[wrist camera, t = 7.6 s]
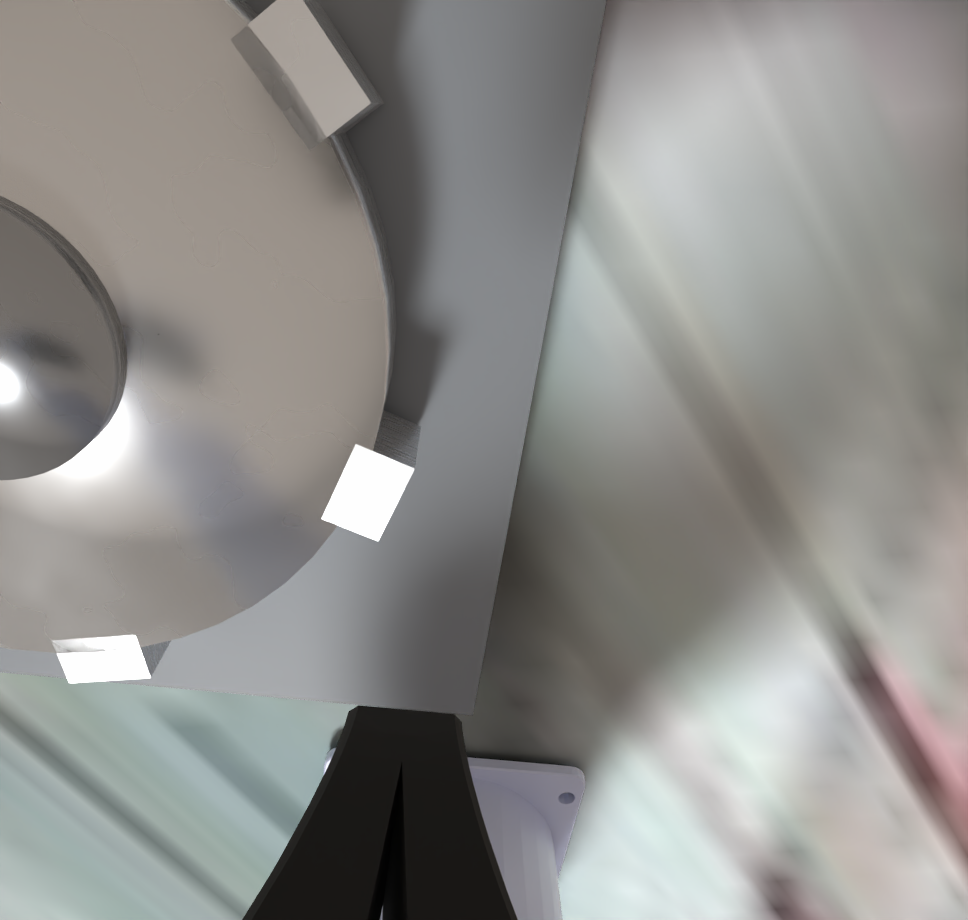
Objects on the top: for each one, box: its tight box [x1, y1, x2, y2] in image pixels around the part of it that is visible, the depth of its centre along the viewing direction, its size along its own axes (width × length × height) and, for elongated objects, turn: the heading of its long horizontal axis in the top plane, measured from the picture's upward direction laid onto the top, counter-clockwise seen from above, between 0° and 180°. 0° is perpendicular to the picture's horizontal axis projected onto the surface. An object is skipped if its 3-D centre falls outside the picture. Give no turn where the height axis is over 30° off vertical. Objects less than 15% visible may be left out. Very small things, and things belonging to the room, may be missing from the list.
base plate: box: [0, 0, 607, 715], centre depth 15 cm, size 20×20×2 cm
